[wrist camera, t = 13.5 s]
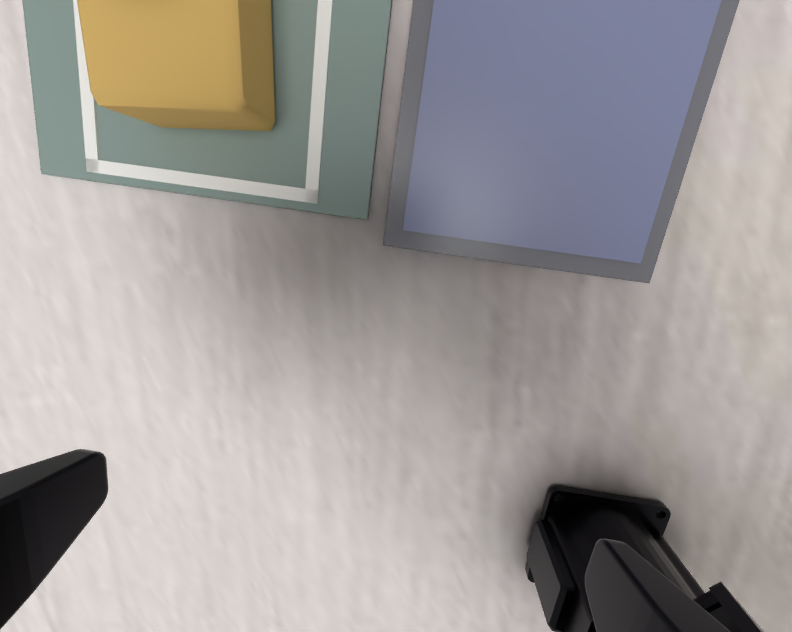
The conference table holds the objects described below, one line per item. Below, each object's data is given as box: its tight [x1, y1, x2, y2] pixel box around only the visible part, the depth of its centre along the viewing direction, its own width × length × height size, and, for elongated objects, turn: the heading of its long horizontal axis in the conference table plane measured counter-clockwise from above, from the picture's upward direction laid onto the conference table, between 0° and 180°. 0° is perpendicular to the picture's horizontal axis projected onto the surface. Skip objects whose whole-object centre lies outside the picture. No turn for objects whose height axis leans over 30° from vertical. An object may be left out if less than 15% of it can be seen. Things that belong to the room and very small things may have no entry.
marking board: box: [22, 0, 392, 220], centre depth 16 cm, size 16×16×1 cm
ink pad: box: [383, 0, 739, 283], centre depth 15 cm, size 12×14×2 cm
